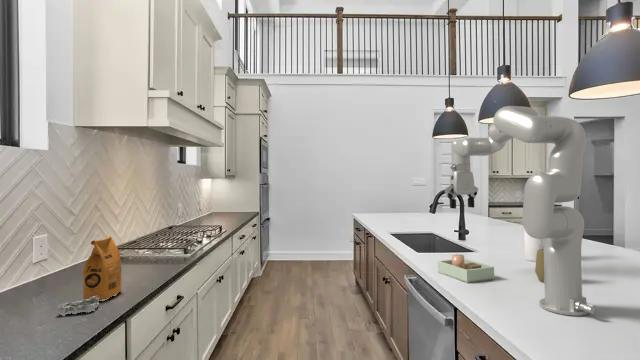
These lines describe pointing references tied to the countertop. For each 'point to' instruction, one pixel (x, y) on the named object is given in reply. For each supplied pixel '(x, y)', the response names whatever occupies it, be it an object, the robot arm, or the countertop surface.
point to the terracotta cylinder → (458, 260)
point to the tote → (466, 271)
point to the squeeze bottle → (540, 262)
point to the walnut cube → (471, 266)
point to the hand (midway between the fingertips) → (462, 207)
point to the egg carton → (76, 306)
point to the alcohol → (531, 247)
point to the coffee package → (102, 270)
